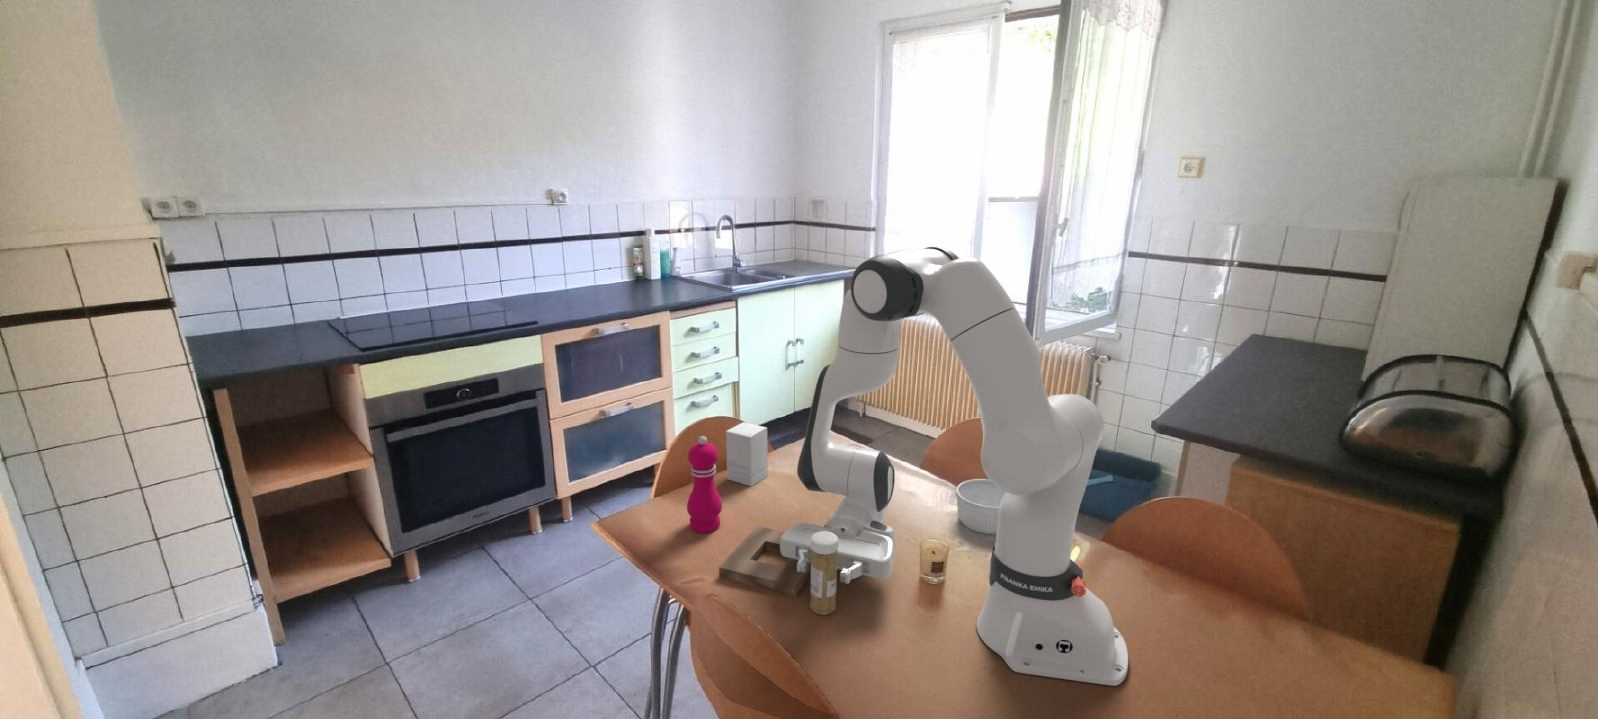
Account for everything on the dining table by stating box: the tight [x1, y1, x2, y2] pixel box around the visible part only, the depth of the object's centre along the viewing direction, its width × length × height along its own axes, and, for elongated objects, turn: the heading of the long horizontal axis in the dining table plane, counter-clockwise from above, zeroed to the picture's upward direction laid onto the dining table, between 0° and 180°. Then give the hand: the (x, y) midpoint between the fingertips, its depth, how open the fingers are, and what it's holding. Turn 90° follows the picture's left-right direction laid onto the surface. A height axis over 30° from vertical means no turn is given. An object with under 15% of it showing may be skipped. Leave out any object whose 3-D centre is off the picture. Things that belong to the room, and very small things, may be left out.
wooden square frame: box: [718, 525, 811, 597], centre depth 126 cm, size 15×16×2 cm
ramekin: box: [955, 478, 1006, 535], centre depth 141 cm, size 13×13×7 cm
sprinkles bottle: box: [809, 531, 838, 616], centre depth 112 cm, size 5×5×13 cm
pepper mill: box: [686, 435, 723, 534], centre depth 137 cm, size 7×7×20 cm
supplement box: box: [725, 421, 769, 487], centre depth 160 cm, size 7×7×13 cm
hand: (822, 573), depth 111 cm, fingers open, 6 cm apart
